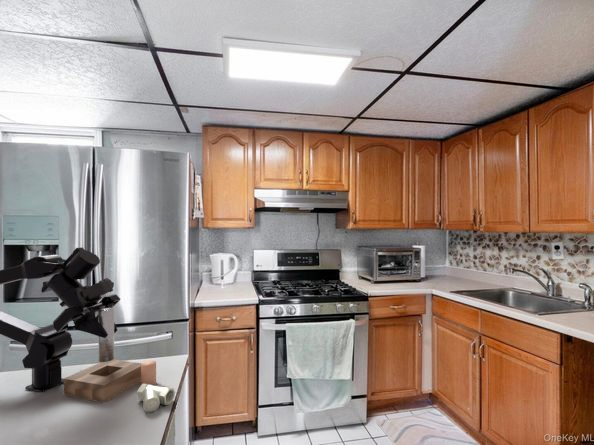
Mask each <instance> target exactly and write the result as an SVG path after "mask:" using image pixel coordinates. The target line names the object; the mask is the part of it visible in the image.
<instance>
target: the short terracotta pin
mask: <svg viewBox="0 0 594 445" xmlns="http://www.w3.org/2000/svg"><path fill="white" fill-rule="evenodd" d="M140 384H141V385H142V384H151V385H154V386H156V385H157V361H156V360H147V361H143V362H142V364H141V381H140ZM141 385H140V386H141Z"/></svg>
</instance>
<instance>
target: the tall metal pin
mask: <svg viewBox="0 0 594 445" xmlns="http://www.w3.org/2000/svg"><path fill="white" fill-rule="evenodd" d="M98 322H99V323H100V324H101V326H102V327H103V328H104V329H105V331H106V332H107V334H108V336H107V337H106V338H103V337H100V336H97V337H98V338H97V339H98V342H97V343H98V345H97V348H98V349H97V350H98V351H97V352H98V355H97V358H98V363H100V362H108V361H111V360H115V333H114V322H115V308H114V307H113V308H104V309H100V310H98Z"/></svg>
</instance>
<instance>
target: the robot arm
mask: <svg viewBox="0 0 594 445" xmlns="http://www.w3.org/2000/svg"><path fill="white" fill-rule="evenodd" d="M99 264H101V259H100V258H99V256H98V255H97V254H95V253H93V252H92V251H89V250H87V249H85V248H84V247H83V246H82V247H75V249H74V250H73V251H72V253H71V254H70V255H69V256H68V257H67V258H66V259H64V258H62V256H60V255H59V254H50V255H39V256H34V257H31V258H29V259H27V260H25V261H23V262H22V263H21V264H19V265H16V266H11V267H7V268H4V269H0V285H4V284H5V285H6V284H9V283H10V284H11V283H12V282H17V281H21V280H34V279H35V280H36V279H37V280H38V279H43V278H48V277H49V278H50V277H51V278H50V279H49V280H45V281H43V282H42V287H41V290H40V291H41V293H42V294H43V293H47V292H51V291H52V292H53V293H54V295H55V296H57V298H59V300H60V301H61V302H60V303H59V305H60V307H61V308H63V307H66V308H65V309H64V310H63V311H62V312H61V313H59V315H57V317H56V318H55V319H54V320H53V321H52V323H51V324H49V325H46V326H44V327H38V326H36V325H34V324H31V323H29V322H27V321H25V320H22V319H20V318H17V317H15V316H13V315H12V314H11V315H10V314H9V313H7V312H6V313H5V312H3V311H1V310H0V335H1V336H4V337H5V338H8V339H10V340H13V341H15V342H17V343H19V344H21V345H25V348H26V351H27V355H26V356H25V357H24V358H22V361H21V362H22V364H23V367H24V369H31V384H28V385H27V386H25V390H28V391H32V392H33V391H34V392H39V393H43V392H46V391H48V390H51V389H52V388H56V387H57V386H59V385H61V384H64V377H63V376H62V372H63V371H62V369H63V368H62V360H61V359H62V358H65V357H66V356H68V354H69V350H70V349H71V347H72V345H73V338H72V334H71V333H70V332H69V331H67V329H68V328H69V323H70V322H73V323H72V324H73V326H72V327H71V330H72V331H74V330H75V331H76V330H77V331H79V332H84V333H88V334H91V335H94V336H97V337H98V336H100V337H103V338H106V337H107V336H108V334H107V332H106V331H105V329H104V328H103V327H102V326H101V324H100V323H99V322H98V310H100V309H104V308H114V307H115V306H116V305H117V304H118V303H119V302H120V301H121V298H120V297H119V296H118V294H113V293H111V292H113V291H114V286H115V282H114V281H112V280H111V279H110V278H109V277H106V278H103V279H102V280H99V281H98V282H96V283H94V284H92V285H83V284H82V283H81V282H80V281H79V280H85V279H86V278H87V277H88V276H89V275H90V274H91V273H92V272H93V271H94V270H95V269H96V268H97V267H98V265H99ZM107 293H108V294H109V293H111V294H109V295H106V296H104V295H105V294H107ZM103 296H104V297H103ZM117 332H118V327H117V325H116V321H114V334H115V333H117ZM62 377H63V378H62Z"/></svg>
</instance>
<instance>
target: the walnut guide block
mask: <svg viewBox="0 0 594 445" xmlns="http://www.w3.org/2000/svg"><path fill="white" fill-rule="evenodd" d="M142 363H143V362H142ZM142 363H141V362H135V361H127V360H120V359H113V360H111V361H108V362H98V363H95V364H94V365H92V366H89V367H87V368H85V369H82V370H80V371H78V372H74V373H73V374H71V375H69V376H67V377H65V378H64V377H63V379H64V383H63V395H64V396H67V397H72V398H79V399H84V400H90V401H95V402H100V403H105V402H107V401H109V400H111V399H112V398H114V397H116V396H118V395H120V394H121V393H123V392H124V391H127V390H128V389H130V388H132V387H133V386H135V385H137V384H138V383H141V364H142Z"/></svg>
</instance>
